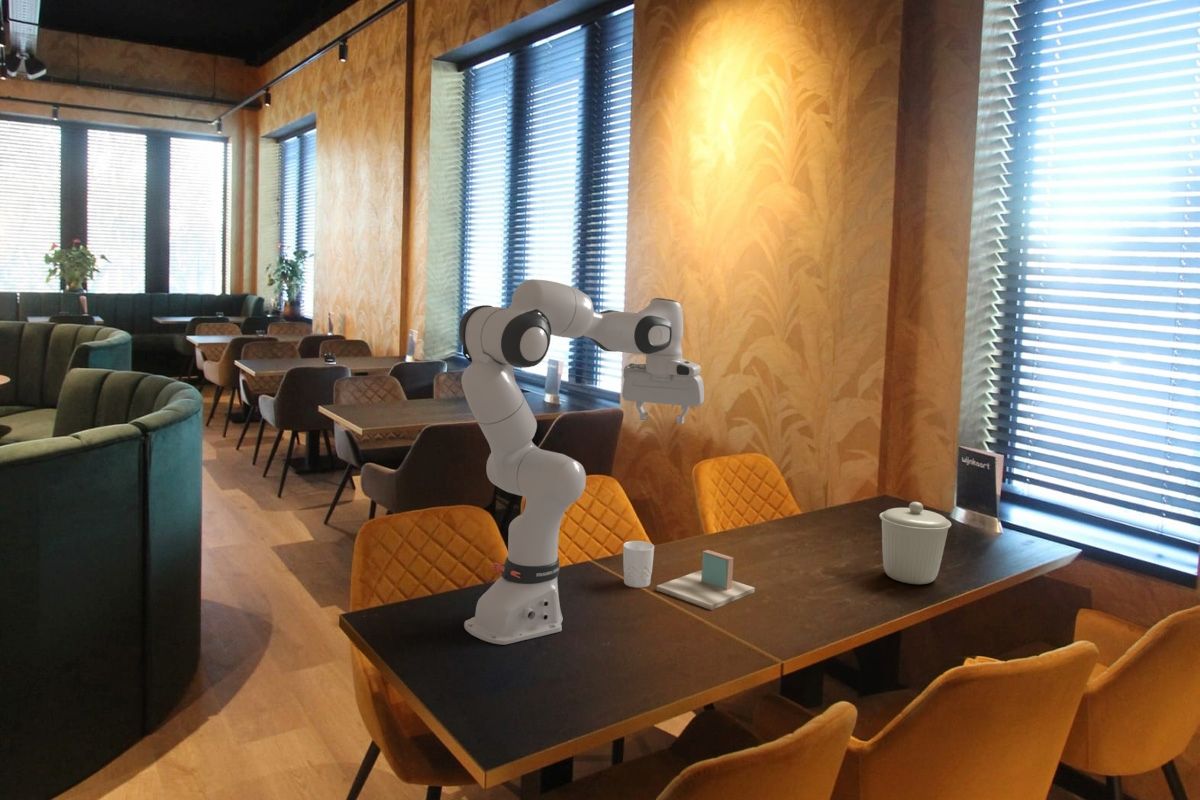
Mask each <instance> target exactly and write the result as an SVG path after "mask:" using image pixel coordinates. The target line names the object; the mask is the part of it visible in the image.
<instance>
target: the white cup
mask: <svg viewBox="0 0 1200 800" xmlns="http://www.w3.org/2000/svg"><path fill="white" fill-rule="evenodd" d="M622 547H623V550H622V551H623V557H622V559H623V560H622V561H623V563H622V564H623V568H622V569H623V583H624V584H625V586H628V587H630V588H639V589H640V588H642V589H643V588H646V587H650V584H651V580H652V574H653V565H654V564H653V563H654V552H655V545H654V544H653V543H651V542H647V541H644V540H642V541H641V540H630V541H626V542H624V543H623V545H622Z"/></svg>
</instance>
